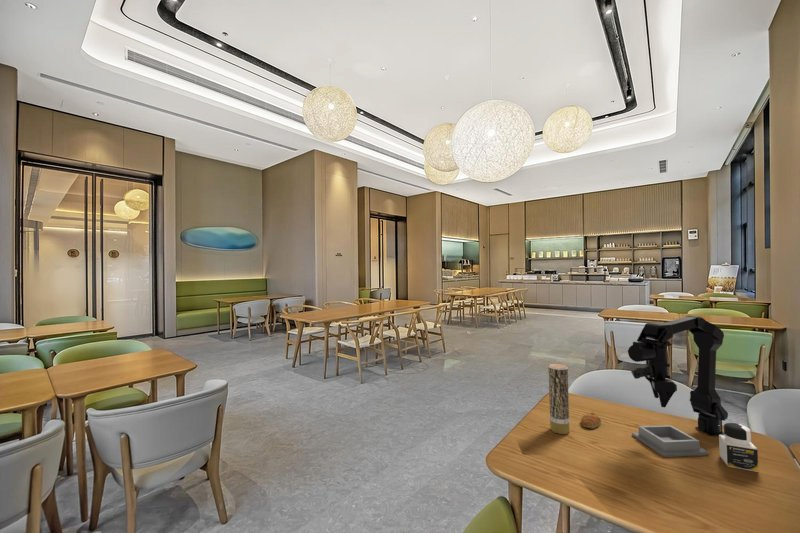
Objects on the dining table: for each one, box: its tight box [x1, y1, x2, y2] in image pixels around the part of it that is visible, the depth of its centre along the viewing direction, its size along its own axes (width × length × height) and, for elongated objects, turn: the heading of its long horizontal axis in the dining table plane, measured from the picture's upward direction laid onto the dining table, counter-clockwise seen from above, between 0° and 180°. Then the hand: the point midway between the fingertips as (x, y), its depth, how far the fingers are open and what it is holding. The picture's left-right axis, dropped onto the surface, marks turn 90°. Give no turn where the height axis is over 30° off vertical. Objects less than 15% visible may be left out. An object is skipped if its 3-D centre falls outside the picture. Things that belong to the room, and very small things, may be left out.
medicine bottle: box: [718, 422, 759, 473], centre depth 109 cm, size 7×7×12 cm
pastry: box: [580, 412, 602, 430], centre depth 139 cm, size 9×7×4 cm
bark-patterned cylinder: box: [548, 363, 570, 435], centre depth 134 cm, size 7×7×25 cm
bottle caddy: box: [631, 424, 709, 458], centre depth 122 cm, size 15×15×4 cm
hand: (659, 402), depth 124 cm, fingers open, 9 cm apart
